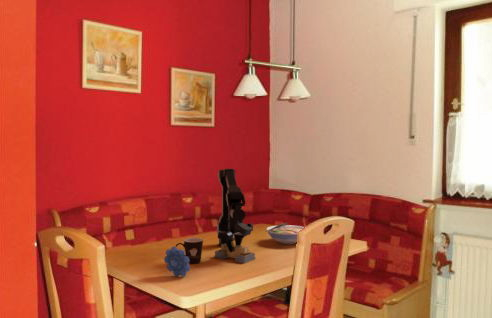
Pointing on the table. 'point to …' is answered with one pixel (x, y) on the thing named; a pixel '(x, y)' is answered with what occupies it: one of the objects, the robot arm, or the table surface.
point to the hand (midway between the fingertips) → (234, 250)
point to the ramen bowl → (284, 233)
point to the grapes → (177, 261)
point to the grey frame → (238, 257)
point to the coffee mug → (193, 249)
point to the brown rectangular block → (235, 250)
